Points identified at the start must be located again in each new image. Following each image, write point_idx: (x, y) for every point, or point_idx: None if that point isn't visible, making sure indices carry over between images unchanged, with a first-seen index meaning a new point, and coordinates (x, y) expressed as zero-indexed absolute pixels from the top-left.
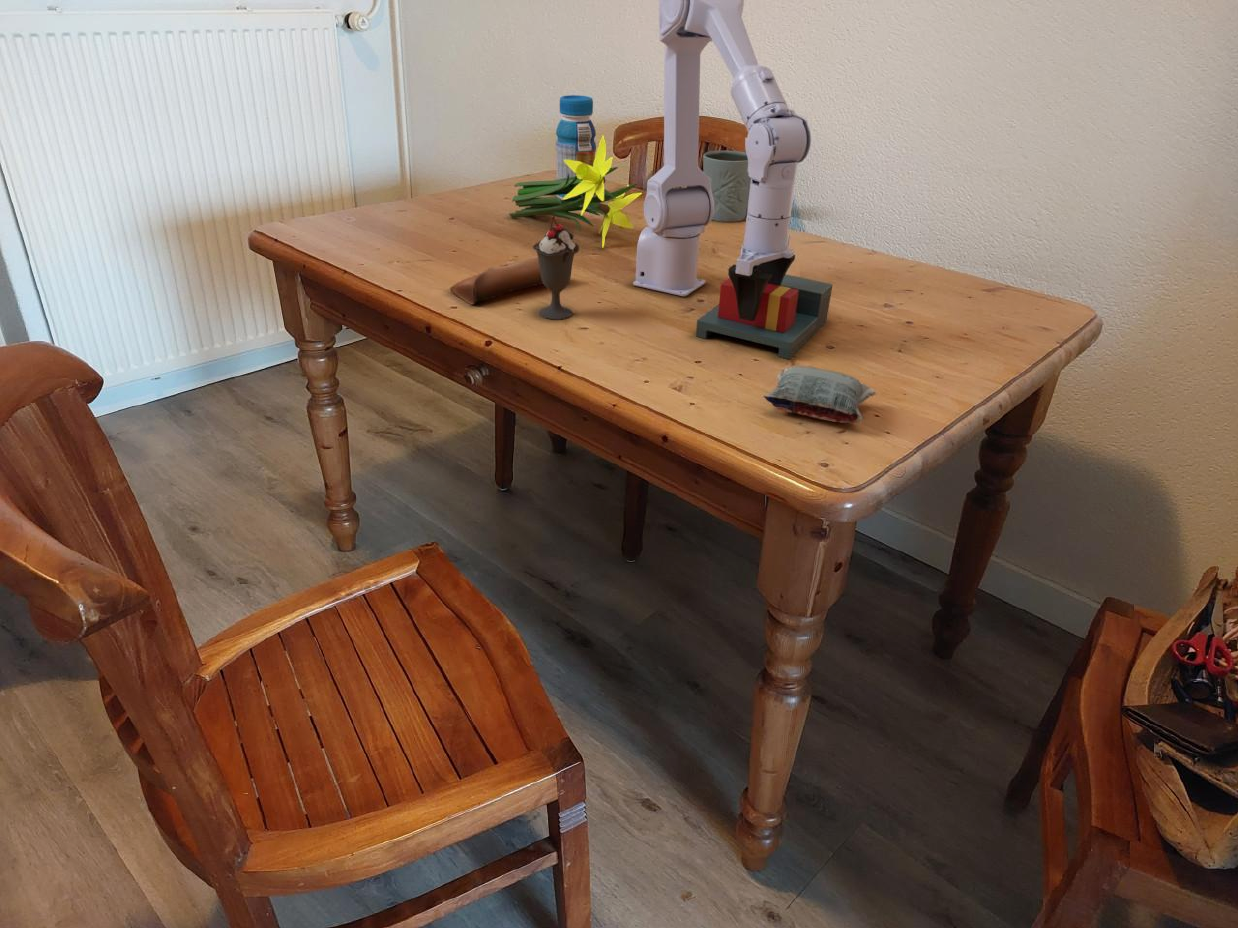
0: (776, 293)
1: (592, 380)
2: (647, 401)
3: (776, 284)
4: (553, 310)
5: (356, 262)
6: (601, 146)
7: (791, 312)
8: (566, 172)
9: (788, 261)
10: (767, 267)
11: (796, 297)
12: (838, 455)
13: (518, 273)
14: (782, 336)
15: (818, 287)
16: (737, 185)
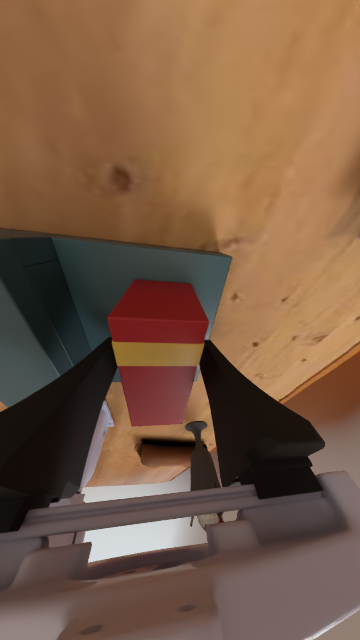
0: (186, 357)
1: (301, 382)
2: (344, 347)
3: (94, 371)
4: (201, 430)
5: (177, 468)
6: None
7: (162, 293)
8: None
9: (17, 459)
10: (80, 433)
11: (132, 307)
12: None
13: (179, 459)
14: (208, 281)
15: None
16: None
